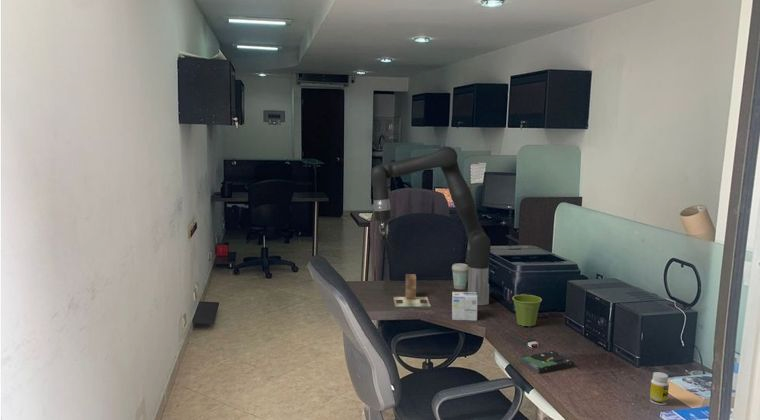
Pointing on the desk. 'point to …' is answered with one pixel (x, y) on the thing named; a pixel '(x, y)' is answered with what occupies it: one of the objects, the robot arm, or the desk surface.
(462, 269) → the coffee cup
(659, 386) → the supplement bottle
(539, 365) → the disk drive
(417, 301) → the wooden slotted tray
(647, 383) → the desk surface
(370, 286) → the desk surface
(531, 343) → the usb drive
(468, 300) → the light bulb box
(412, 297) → the walnut block
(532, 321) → the plant pot
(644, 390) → the desk surface
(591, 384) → the desk surface
